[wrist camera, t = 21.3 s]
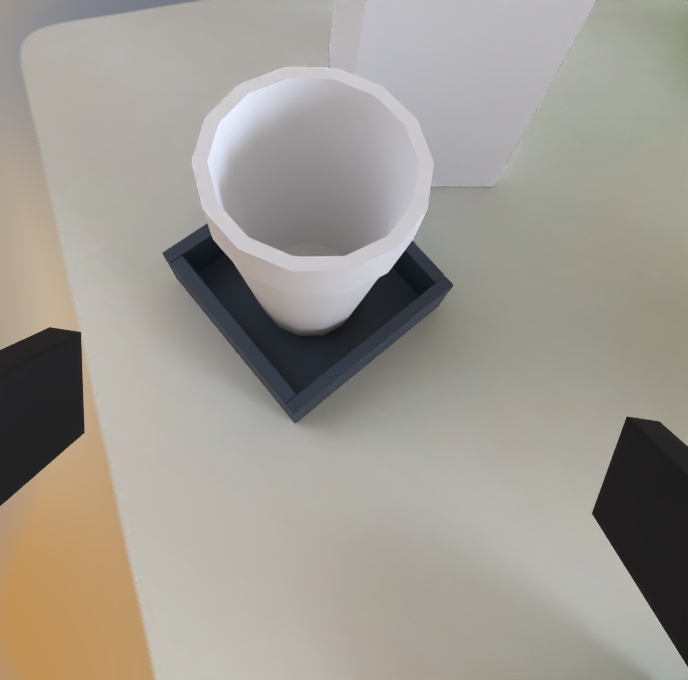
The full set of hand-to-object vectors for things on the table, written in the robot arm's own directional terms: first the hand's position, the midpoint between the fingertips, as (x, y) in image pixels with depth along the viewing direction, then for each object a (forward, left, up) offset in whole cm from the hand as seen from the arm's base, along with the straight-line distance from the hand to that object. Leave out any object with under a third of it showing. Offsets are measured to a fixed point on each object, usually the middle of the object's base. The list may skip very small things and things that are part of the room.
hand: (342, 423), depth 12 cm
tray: (+9, -6, -18) cm, 21 cm away
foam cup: (+9, -6, -18) cm, 21 cm away
